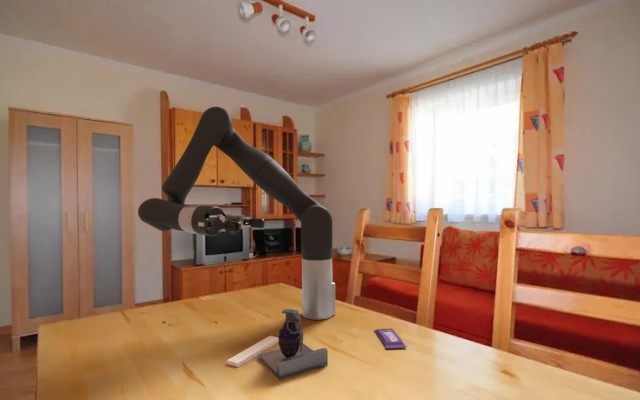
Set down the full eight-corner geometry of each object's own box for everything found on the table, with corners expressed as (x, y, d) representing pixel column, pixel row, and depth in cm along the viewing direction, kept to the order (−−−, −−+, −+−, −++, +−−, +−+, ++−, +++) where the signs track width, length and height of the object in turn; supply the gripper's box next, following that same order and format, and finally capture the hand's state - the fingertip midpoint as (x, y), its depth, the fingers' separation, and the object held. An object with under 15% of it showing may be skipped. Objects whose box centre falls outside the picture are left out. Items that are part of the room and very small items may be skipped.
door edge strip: (269, 338, 84) (269, 335, 84) (279, 341, 82) (279, 337, 82) (227, 364, 71) (227, 360, 71) (237, 367, 69) (237, 363, 69)
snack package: (407, 343, 78) (385, 344, 77) (407, 351, 78) (386, 352, 77) (392, 325, 89) (373, 326, 89) (392, 332, 89) (373, 333, 89)
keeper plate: (302, 346, 79) (302, 332, 79) (327, 365, 70) (327, 349, 70) (258, 357, 74) (258, 343, 74) (279, 379, 64) (279, 363, 64)
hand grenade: (308, 354, 73) (308, 308, 73) (299, 364, 69) (299, 315, 69) (284, 350, 75) (284, 306, 75) (274, 360, 71) (274, 312, 71)
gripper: (178, 205, 79) (231, 210, 71) (222, 204, 91) (271, 207, 84) (178, 237, 79) (230, 245, 72) (221, 231, 92) (270, 237, 84)
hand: (252, 225), depth 78 cm, fingers open, 8 cm apart
